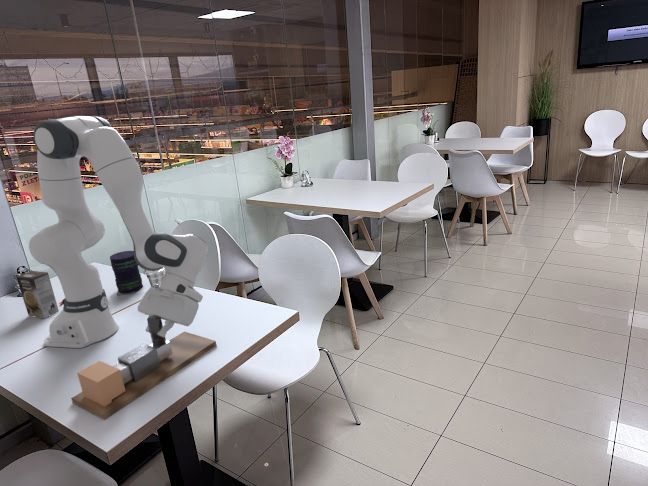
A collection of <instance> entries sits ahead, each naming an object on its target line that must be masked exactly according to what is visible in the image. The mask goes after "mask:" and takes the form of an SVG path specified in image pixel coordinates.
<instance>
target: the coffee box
mask: <svg viewBox="0 0 648 486" xmlns="http://www.w3.org/2000/svg"><path fill="white" fill-rule="evenodd" d="M15 278H16V281H17V284H18V287H19V290H20V292H21V297H22V299H23V303H24V306H25V309H26V312H27V314H28V315H27V316H28V317H32V316H35V317H34V318H38V317H42V318H41V319H44V318H45V317H47V316H49V315H51V316H53V315H54V313H55V314H57V313H59V312H60V311H59V306H58V303H57V299H56V296H55V292H54V289H53V285H52V282H51V278H50V275H49V272H45V271H36V270H31V271H28V272H25V273H22V274H20V275H19V274H18V275H17V276H16V277H15ZM58 311H59V312H58ZM56 312H57V313H56ZM52 314H53V315H52ZM49 317H50V316H49ZM47 318H48V317H47ZM45 319H46V318H45Z"/></svg>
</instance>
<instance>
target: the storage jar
mask: <svg viewBox="0 0 648 486" xmlns="http://www.w3.org/2000/svg"><path fill="white" fill-rule="evenodd" d="M109 260H110V266H111V269H112V271H113V273H114V278H115V286H116V289H117V293H118V294H121V295H129V294H133V293H137V292H138V291H140V290H142V289H143V287H144V285H143V279H142V276H141V273H140V269H139V265H138V264H137V263H136V261H135V258H134V250H124V251H120V252H116V253H113V254H112V255H110V256H109Z"/></svg>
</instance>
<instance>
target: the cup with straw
mask: <svg viewBox="0 0 648 486" xmlns="http://www.w3.org/2000/svg"><path fill="white" fill-rule="evenodd" d="M165 273H166V269H164V268H161V269H159V270H156V271H148V270H145V269H143V274H144V275H146V277H147V280H148V282H149V284H150V287H152V286H154V285H155V284H158V285H160V284H161V282H162V280H163V278H164V275H165Z"/></svg>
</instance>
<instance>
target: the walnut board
mask: <svg viewBox="0 0 648 486" xmlns="http://www.w3.org/2000/svg"><path fill="white" fill-rule="evenodd" d="M168 341H170V344H171V348H172V353H173V354H172V355H170V356H168V357H167V358H165V359H163V360H162V361H160V366H161V367H160V368H158V369H157V370H155V371H153V372H152V373H150V374H149V375H147V376H146V377H144V378H142V379H141V380H139V381H138V382H136V383H135V382H133V381H131V380H130V381H128V382H126V383H125V384H124V387H125V392H123V393H122V394H120V395H118V396H117V397H115V398H114V399H112V402H111V403H110V404H108V405H106V406H105V407H104V406H102V405H100V404H98V403H96V402H94V401H92V400H90V399H88V398H86V397H84V395H83V391H81V392H79V393H78V394H76V395H74V396H72V397H71V398H70V399H71V401H72V404H74V405H75V406H77V407H79V408H81V409H83V410H85V411H86V412H88V413H91V414H92V415H94V416H96V417H98V418H100V419H102V420H104V421H105V420H107V419H108V418H110V417H111V416H113V415H114V414H116V413H117V412H118V411H120V410H121V409H123V408H125V407H127V405H129V404H130V403H132V402H133V401H135V400H137V399H138V398H139V397H142V396H143V395H145V393H147V392H149V391H150V390H152V389H154V387H156V386H157V385H159V384H160V383H162V382H164V381H166V380H168V378H170V377H171V376H173V375H174V374H176V373H178V372H179V371H180V370H182V369H183V368H185V367H186V366H188V365H190V364H191V363H192V362H193V361H195V360H197V359H198V358H200V357H201V356H203V355H204V354H206V353H207V352H208V351H210V350H212V349H213V348H215V347H216V346H217V341H216V340H213V339H212V338H208V337H205V336H201V335H197V334H194V333H191V332H187V331H183V332H181V333H180V334H178V335H176V336H174V337H173V338H171V339H169V340H168Z"/></svg>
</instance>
